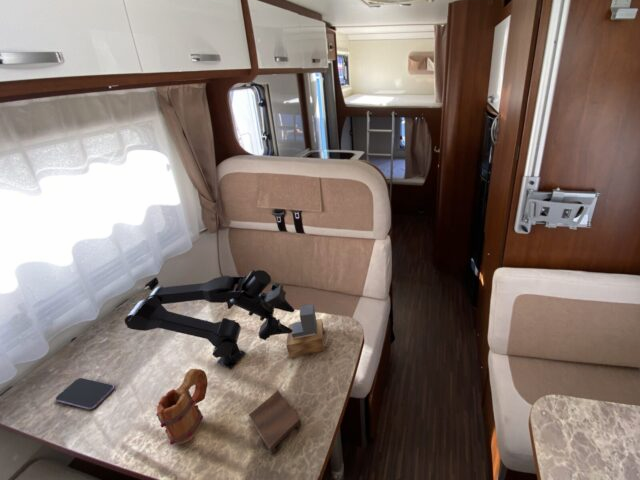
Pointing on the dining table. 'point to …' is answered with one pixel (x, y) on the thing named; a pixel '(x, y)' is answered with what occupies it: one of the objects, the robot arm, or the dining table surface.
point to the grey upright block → (305, 323)
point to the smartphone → (85, 393)
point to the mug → (183, 408)
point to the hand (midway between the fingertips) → (292, 321)
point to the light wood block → (306, 342)
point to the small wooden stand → (274, 420)
